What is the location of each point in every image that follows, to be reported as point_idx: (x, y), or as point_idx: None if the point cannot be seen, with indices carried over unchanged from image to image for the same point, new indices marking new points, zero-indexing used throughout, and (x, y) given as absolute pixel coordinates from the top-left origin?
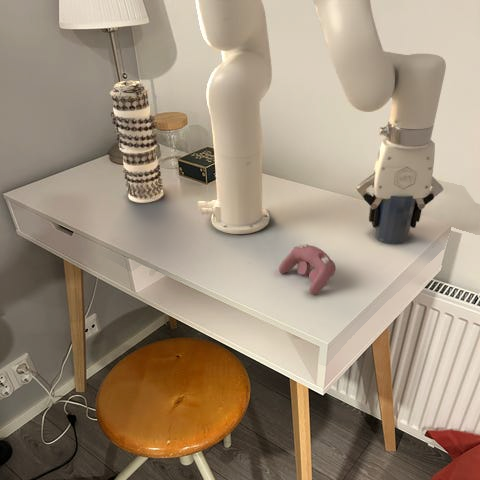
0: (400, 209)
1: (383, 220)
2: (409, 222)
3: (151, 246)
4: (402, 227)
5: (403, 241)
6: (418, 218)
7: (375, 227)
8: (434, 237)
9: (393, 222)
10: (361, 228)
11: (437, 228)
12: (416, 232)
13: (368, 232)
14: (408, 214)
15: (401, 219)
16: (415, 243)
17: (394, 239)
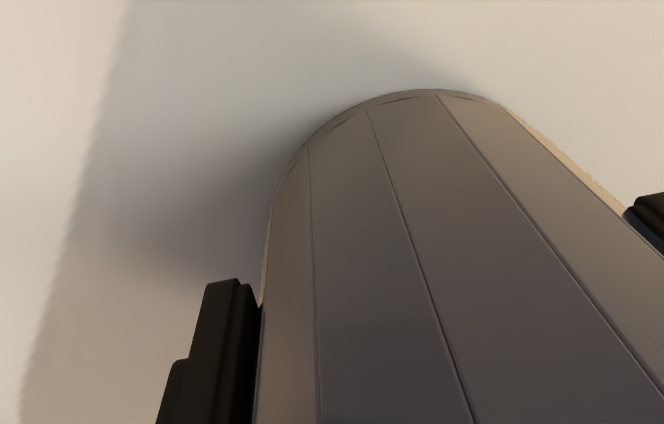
0: (520, 336)
1: (637, 223)
2: (280, 279)
3: None
4: (357, 189)
5: (305, 148)
6: (180, 382)
7: (639, 198)
8: (51, 291)
9: (511, 185)
10: None
11: (58, 416)
12: None
13: None
14: (321, 324)
15: (414, 227)
16: (194, 158)
17: (403, 108)
